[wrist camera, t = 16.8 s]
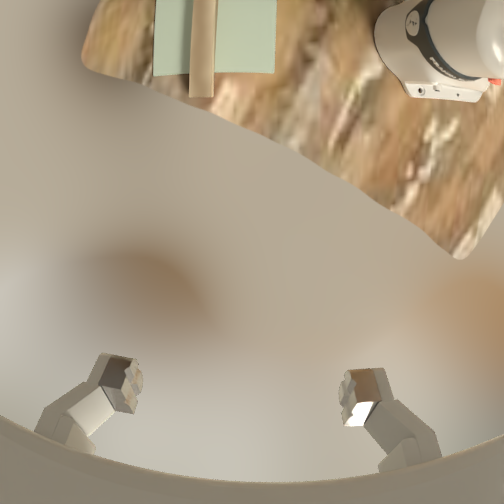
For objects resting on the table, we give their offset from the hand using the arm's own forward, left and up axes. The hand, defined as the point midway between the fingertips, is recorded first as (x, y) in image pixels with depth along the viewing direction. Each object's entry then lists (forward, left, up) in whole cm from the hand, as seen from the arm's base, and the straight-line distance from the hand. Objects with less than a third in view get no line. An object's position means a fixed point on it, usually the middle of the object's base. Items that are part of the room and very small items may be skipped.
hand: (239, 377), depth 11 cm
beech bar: (+8, -19, -39) cm, 44 cm away
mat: (+7, -23, -39) cm, 46 cm away
